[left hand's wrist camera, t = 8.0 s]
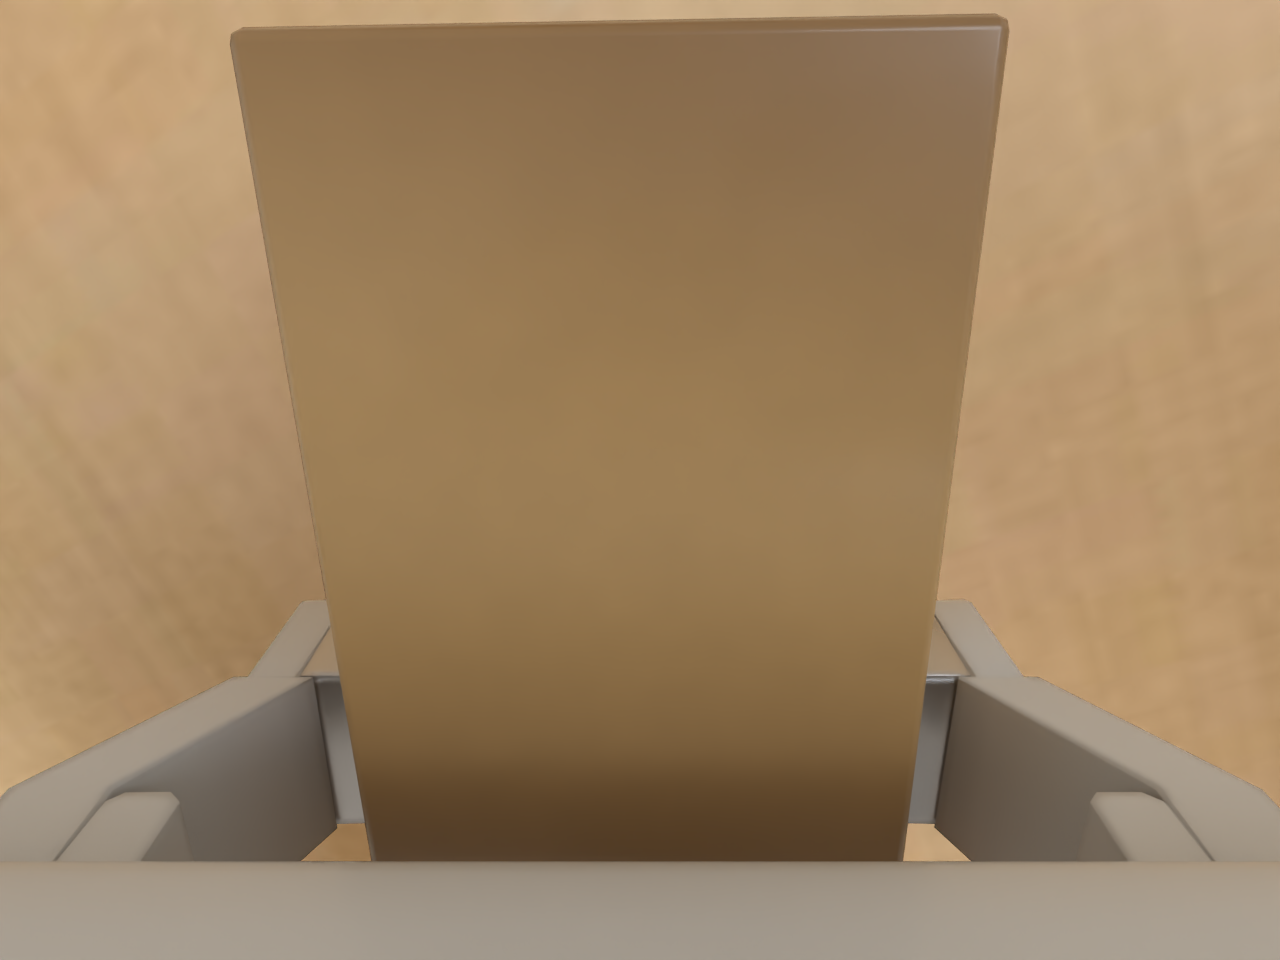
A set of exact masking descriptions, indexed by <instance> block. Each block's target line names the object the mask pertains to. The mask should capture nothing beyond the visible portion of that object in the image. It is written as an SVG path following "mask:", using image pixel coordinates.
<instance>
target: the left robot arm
mask: <svg viewBox="0 0 1280 960" xmlns="http://www.w3.org/2000/svg"><path fill="white" fill-rule="evenodd" d="M348 823H365V821H364V815H363V809H362V803H361V798H360V792H359V786H358V780H357V774H356V769H355V763H354V757H353V751H352V746H351V740H350V734H349V728H348V723H347V717H346V711H345V705H344V699H343V694H342V688H341V682H340V676H339V671H338V665H337V659H336V653H335V647H334V642H333V636H332V630H331V624H330V619H329V613H328V607H327V601H326V600H308V601H303V602H301V603H300V604H299V606H298V607H297V608H296V610H295V611H294V613H293V614H292V615H291V617H290V618H289V619H288V621H287V622H286V624H285V625H284V626H283V628H282V629H281V631H280V632H279V633H278V635H277V636H276V638H275V639H274V640H273V642H272V643H271V645H270V646H269V647H268V649H267V650H266V651H265V653H264V654H263V656H262V657H261V658H260V660H259V661H258V663H257V664H256V665H255V667H254V668H253V670H252V671H251V672H250V674H249V675H248V677H232V678H230V679H228V680H226V681H224V682H222V683H220V684H218V685H216V686H214V687H212V688H210V689H208V690H206V691H204V692H202V693H200V694H198V695H196V696H194V697H192V698H190V699H188V700H186V701H184V702H182V703H180V704H178V705H176V706H174V707H172V708H170V709H168V710H166V711H164V712H162V713H160V714H158V715H156V716H154V717H152V718H150V719H148V720H146V721H144V722H142V723H140V724H138V725H136V726H134V727H132V728H130V729H128V730H126V731H124V732H122V733H120V734H117V735H115V736H113V737H111V738H109V739H107V740H105V741H103V742H101V743H99V744H97V745H95V746H93V747H91V748H89V749H87V750H85V751H83V752H81V753H79V754H77V755H75V756H73V757H71V758H69V759H67V760H65V761H63V762H61V763H59V764H57V765H55V766H53V767H51V768H49V769H47V770H45V771H43V772H41V773H39V774H37V775H35V776H33V777H31V778H29V779H27V780H25V781H23V782H21V783H19V784H17V785H15V786H13V787H11V788H9V789H8V790H7V791H6V792H5V793H4V794H3V795H2V796H1V797H0V960H1280V808H1279V807H1278V806H1277V805H1276V804H1275V803H1274V802H1273V801H1272V800H1271V799H1270V798H1269V796H1268V795H1267V794H1266V793H1265V792H1264V791H1263V790H1262V789H1260V788H1258V787H1256V786H1254V785H1252V784H1250V783H1248V782H1246V781H1244V780H1242V779H1240V778H1238V777H1236V776H1234V775H1232V774H1230V773H1228V772H1226V771H1224V770H1222V769H1220V768H1218V767H1216V766H1214V765H1212V764H1210V763H1208V762H1206V761H1204V760H1202V759H1200V758H1198V757H1196V756H1194V755H1192V754H1190V753H1188V752H1186V751H1184V750H1182V749H1180V748H1178V747H1176V746H1174V745H1172V744H1170V743H1168V742H1166V741H1164V740H1162V739H1160V738H1158V737H1156V736H1154V735H1152V734H1150V733H1148V732H1146V731H1144V730H1142V729H1140V728H1138V727H1136V726H1134V725H1132V724H1130V723H1129V722H1127V721H1125V720H1123V719H1121V718H1119V717H1117V716H1115V715H1113V714H1111V713H1109V712H1107V711H1105V710H1103V709H1101V708H1099V707H1097V706H1095V705H1093V704H1091V703H1089V702H1087V701H1085V700H1083V699H1081V698H1079V697H1077V696H1075V695H1073V694H1071V693H1069V692H1067V691H1065V690H1063V689H1061V688H1059V687H1057V686H1055V685H1053V684H1051V683H1049V682H1047V681H1045V680H1043V679H1041V678H1039V677H1024V676H1023V675H1022V673H1021V672H1020V670H1019V669H1018V668H1017V666H1016V665H1015V663H1014V662H1013V661H1012V659H1011V658H1010V656H1009V655H1008V654H1007V652H1006V651H1005V649H1004V648H1003V647H1002V645H1001V644H1000V642H999V641H998V639H997V638H996V637H995V635H994V634H993V632H992V631H991V630H990V628H989V627H988V625H987V624H986V623H985V621H984V620H983V618H982V617H981V616H980V614H979V613H978V611H977V610H976V608H975V607H974V606H973V604H972V603H971V602H969V601H967V600H965V599H951V600H936V608H935V615H934V623H933V631H932V639H931V647H930V654H929V662H928V670H927V678H926V686H925V693H924V701H923V709H922V717H921V725H920V732H919V740H918V748H917V756H916V764H915V771H914V779H913V787H912V795H911V803H910V811H909V818H908V823H924V824H935V828H936V829H937V830H938V831H939V832H940V833H941V834H942V835H943V836H944V837H946V838H947V839H948V840H949V841H950V842H951V843H952V844H953V845H954V846H955V847H956V848H958V849H959V850H960V851H961V852H962V853H963V854H964V855H965V856H966V857H967V858H969V859H970V860H971V861H301V860H302V859H304V858H305V857H306V856H307V855H308V854H309V853H310V852H311V851H312V850H313V849H315V848H316V847H317V846H318V845H319V844H320V843H321V842H322V841H323V840H325V839H326V838H327V837H328V836H329V835H330V834H331V833H332V832H333V831H334V830H336V829H337V824H348Z"/></svg>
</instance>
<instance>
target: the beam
mask: <svg viewBox="0 0 1280 960" xmlns="http://www.w3.org/2000/svg"><path fill="white" fill-rule="evenodd" d="M1008 37H1009V27H1008V21H1007V19H1006V18H1004V17H1002V16H999V15H997V14H949V15H894V16H839V17H784V18H728V19H673V20H618V21H563V22H508V23H453V24H398V25H343V26H288V27H243V28H241V29H239V30H237V31H235V32H233V33H232V34H231V40H230V47H231V53H232V59H233V64H234V70H235V76H236V82H237V88H238V93H239V99H240V105H241V111H242V116H243V122H244V128H245V134H246V139H247V145H248V151H249V157H250V163H251V168H252V174H253V180H254V186H255V191H256V197H257V203H258V209H259V215H260V220H261V226H262V232H263V238H264V243H265V249H266V255H267V261H268V266H269V272H270V278H271V284H272V290H273V295H274V301H275V307H276V313H277V318H278V324H279V330H280V336H281V342H282V347H283V353H284V359H285V365H286V370H287V376H288V382H289V388H290V393H291V399H292V405H293V411H294V417H295V422H296V428H297V434H298V440H299V445H300V451H301V457H302V463H303V469H304V474H305V480H306V486H307V492H308V497H309V503H310V509H311V515H312V520H313V526H314V532H315V538H316V544H317V549H318V555H319V561H320V567H321V572H322V578H323V584H324V590H325V596H326V601H327V607H328V613H329V619H330V624H331V630H332V636H333V642H334V647H335V653H336V659H337V665H338V671H339V676H340V682H341V688H342V694H343V699H344V705H345V711H346V717H347V723H348V728H349V734H350V740H351V746H352V751H353V757H354V763H355V769H356V774H357V780H358V786H359V792H360V798H361V803H362V809H363V815H364V821H365V826H366V832H367V838H368V844H369V850H370V855H371V861H903V857H904V850H905V842H906V834H907V826H908V818H909V811H910V803H911V795H912V787H913V779H914V771H915V764H916V756H917V748H918V740H919V732H920V725H921V717H922V709H923V701H924V693H925V686H926V678H927V670H928V662H929V654H930V647H931V639H932V631H933V623H934V615H935V608H936V600H937V592H938V584H939V576H940V568H941V561H942V553H943V545H944V537H945V529H946V522H947V514H948V506H949V498H950V490H951V483H952V475H953V467H954V459H955V451H956V444H957V436H958V428H959V420H960V412H961V404H962V397H963V389H964V381H965V373H966V365H967V358H968V350H969V342H970V334H971V326H972V319H973V311H974V303H975V295H976V287H977V280H978V272H979V264H980V256H981V248H982V240H983V233H984V225H985V217H986V209H987V201H988V194H989V186H990V178H991V170H992V162H993V155H994V147H995V139H996V131H997V123H998V116H999V108H1000V100H1001V92H1002V84H1003V76H1004V69H1005V61H1006V53H1007V45H1008Z"/></svg>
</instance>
